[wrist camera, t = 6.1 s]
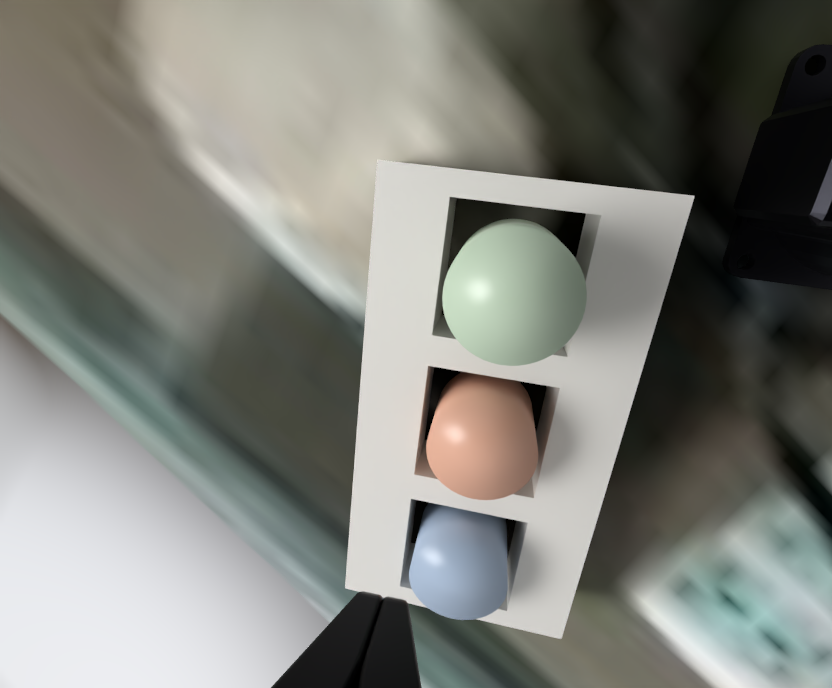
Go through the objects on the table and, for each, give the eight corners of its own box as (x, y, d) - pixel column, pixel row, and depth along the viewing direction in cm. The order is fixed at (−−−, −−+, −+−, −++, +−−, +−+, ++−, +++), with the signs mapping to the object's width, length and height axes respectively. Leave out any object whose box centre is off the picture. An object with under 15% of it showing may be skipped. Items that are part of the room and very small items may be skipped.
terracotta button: (541, 376, 17) (548, 414, 14) (522, 459, 18) (526, 509, 16) (444, 360, 18) (433, 394, 15) (432, 442, 19) (420, 488, 16)
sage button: (582, 227, 14) (602, 237, 11) (556, 340, 15) (568, 376, 12) (462, 211, 14) (452, 218, 11) (446, 322, 16) (434, 353, 13)
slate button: (514, 499, 19) (516, 554, 16) (498, 567, 20) (498, 629, 17) (427, 481, 19) (414, 532, 17) (417, 549, 21) (404, 607, 18)
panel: (665, 193, 15) (694, 195, 13) (554, 588, 21) (561, 638, 19) (395, 162, 16) (377, 159, 14) (361, 545, 22) (344, 588, 20)
